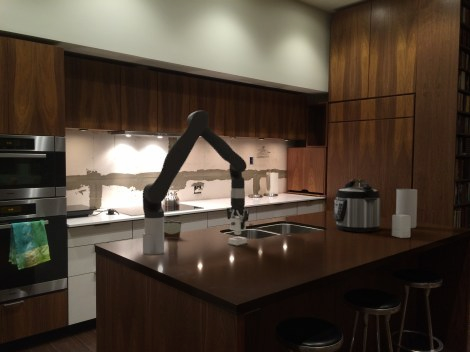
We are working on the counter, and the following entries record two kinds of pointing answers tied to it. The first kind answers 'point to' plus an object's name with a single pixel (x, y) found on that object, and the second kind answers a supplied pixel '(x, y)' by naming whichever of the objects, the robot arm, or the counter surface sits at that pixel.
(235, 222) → the plug
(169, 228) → the food container
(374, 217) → the pressure cooker
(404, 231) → the supplement box
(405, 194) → the cylinder vase
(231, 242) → the socket block
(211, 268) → the counter surface
